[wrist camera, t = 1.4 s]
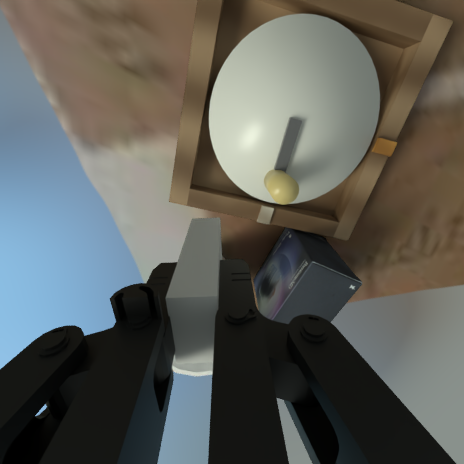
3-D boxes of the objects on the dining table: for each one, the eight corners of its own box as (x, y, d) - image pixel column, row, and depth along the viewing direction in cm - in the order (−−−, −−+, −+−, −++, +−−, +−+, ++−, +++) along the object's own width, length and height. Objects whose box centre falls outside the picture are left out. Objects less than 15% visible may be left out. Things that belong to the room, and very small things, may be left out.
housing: (209, -40, 22) (206, -72, 18) (423, 34, 24) (457, 19, 21) (174, 193, 30) (168, 202, 27) (335, 229, 33) (349, 242, 29)
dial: (230, -4, 22) (233, -52, 16) (398, 52, 24) (457, 28, 18) (196, 181, 28) (189, 196, 22) (330, 212, 30) (356, 233, 24)
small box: (286, 219, 32) (312, 259, 23) (326, 237, 33) (367, 282, 24) (250, 279, 36) (259, 336, 26) (287, 294, 37) (310, 352, 28)
